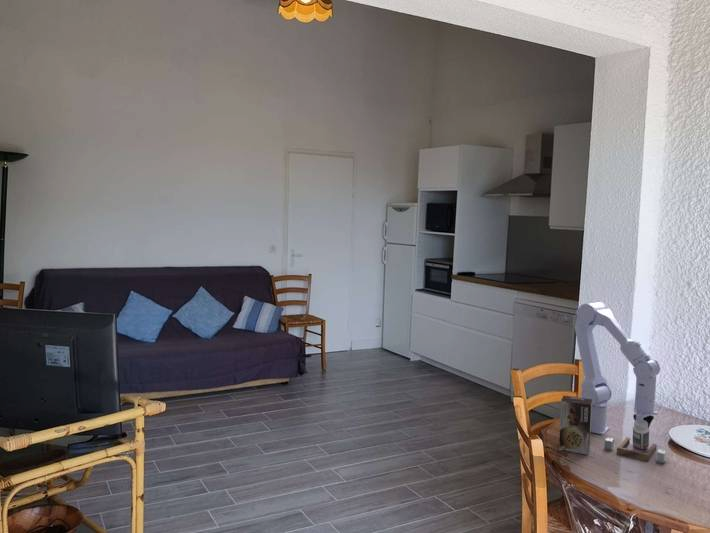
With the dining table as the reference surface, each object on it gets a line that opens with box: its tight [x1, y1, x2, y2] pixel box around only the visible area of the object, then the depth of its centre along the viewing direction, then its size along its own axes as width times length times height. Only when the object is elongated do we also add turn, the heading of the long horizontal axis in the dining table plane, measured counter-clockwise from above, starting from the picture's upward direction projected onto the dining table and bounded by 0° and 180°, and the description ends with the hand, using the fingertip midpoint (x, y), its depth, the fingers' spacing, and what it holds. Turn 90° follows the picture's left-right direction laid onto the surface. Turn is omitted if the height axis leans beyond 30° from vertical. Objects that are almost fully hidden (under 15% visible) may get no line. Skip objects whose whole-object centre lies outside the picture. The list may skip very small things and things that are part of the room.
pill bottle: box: [632, 420, 650, 450], centre depth 192 cm, size 5×5×8 cm
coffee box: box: [558, 395, 592, 456], centre depth 189 cm, size 9×6×16 cm
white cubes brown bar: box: [603, 436, 667, 464], centre depth 189 cm, size 17×13×3 cm
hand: (642, 437), depth 195 cm, fingers closed, pressing on pill bottle
